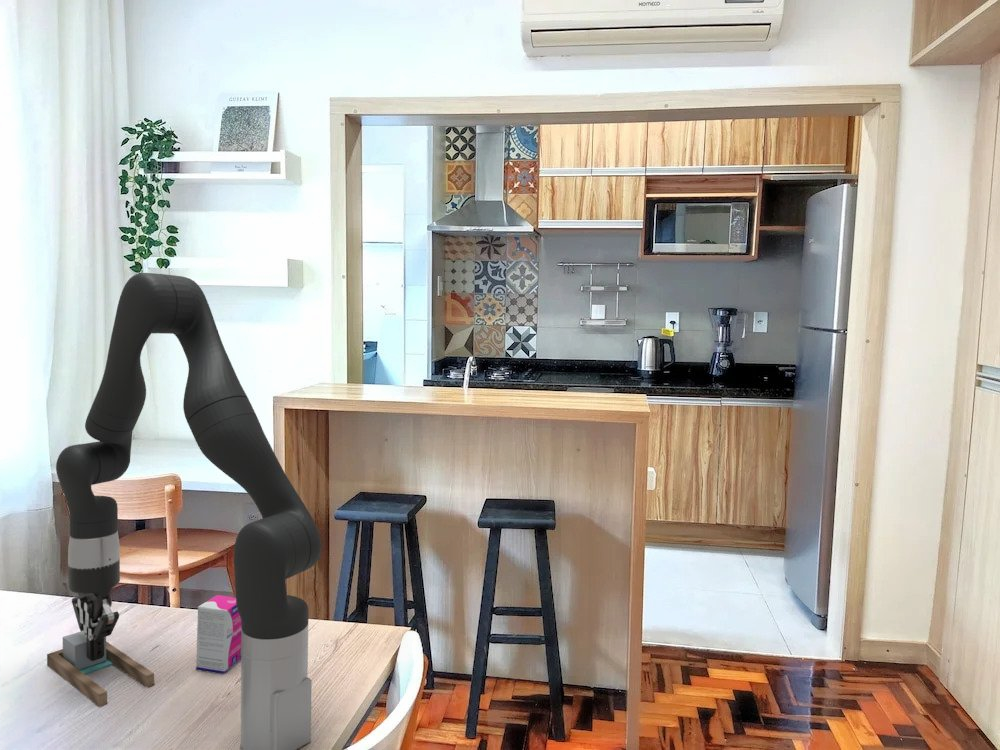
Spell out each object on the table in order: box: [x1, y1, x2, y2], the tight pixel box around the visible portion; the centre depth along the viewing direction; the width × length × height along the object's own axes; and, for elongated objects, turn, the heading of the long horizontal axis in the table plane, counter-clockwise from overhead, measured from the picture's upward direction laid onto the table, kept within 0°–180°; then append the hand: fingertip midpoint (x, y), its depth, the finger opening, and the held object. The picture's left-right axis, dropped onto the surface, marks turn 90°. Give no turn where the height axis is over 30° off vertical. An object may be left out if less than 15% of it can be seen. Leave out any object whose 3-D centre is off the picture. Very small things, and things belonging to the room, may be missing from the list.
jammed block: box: [62, 630, 107, 670], centre depth 120 cm, size 5×5×4 cm
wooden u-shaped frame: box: [46, 641, 155, 708], centre depth 116 cm, size 20×9×2 cm, turn 53°
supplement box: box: [195, 594, 242, 675], centre depth 121 cm, size 6×6×12 cm
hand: (95, 658), depth 117 cm, fingers closed
